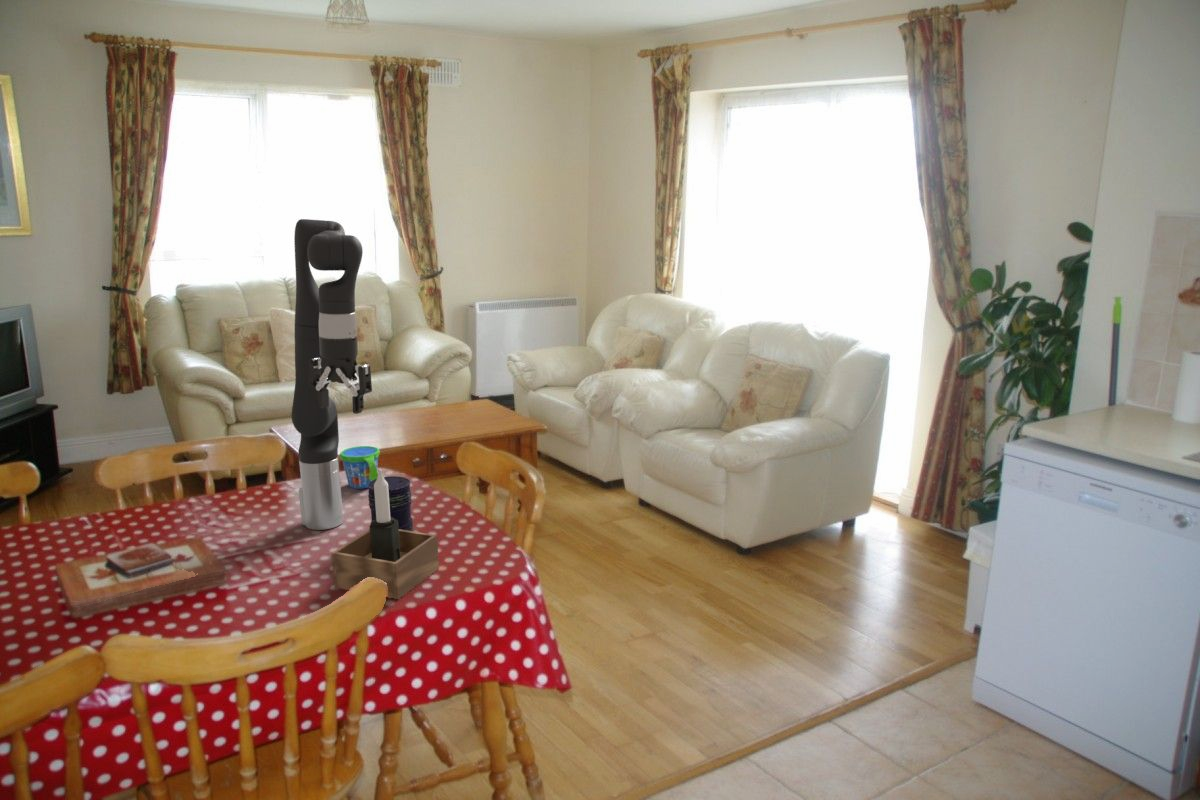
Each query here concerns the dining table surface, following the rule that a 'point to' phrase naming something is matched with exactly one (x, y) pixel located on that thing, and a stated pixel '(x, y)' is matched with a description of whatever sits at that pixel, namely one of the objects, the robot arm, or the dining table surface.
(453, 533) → the dining table surface
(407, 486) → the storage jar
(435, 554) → the peg box
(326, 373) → the robot arm
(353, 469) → the snack cup
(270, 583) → the dining table surface
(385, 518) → the candle
